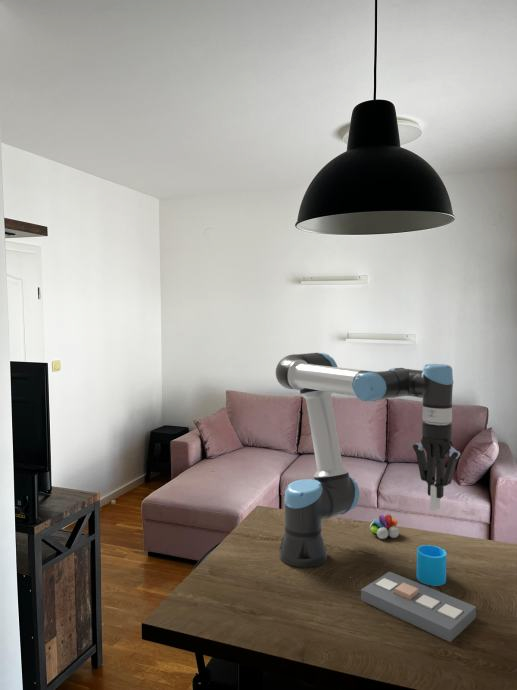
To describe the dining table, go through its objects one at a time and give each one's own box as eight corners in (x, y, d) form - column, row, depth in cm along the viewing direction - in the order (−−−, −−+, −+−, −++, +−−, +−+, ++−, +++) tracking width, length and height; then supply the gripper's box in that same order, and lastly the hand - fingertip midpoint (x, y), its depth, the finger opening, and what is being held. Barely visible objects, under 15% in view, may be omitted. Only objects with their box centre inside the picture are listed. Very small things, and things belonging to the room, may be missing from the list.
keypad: (360, 600, 140) (361, 589, 140) (389, 581, 150) (389, 571, 150) (450, 642, 122) (450, 630, 122) (475, 618, 132) (476, 606, 132)
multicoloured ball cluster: (402, 539, 178) (403, 518, 178) (376, 541, 176) (376, 520, 176) (391, 529, 187) (392, 509, 186) (366, 531, 185) (366, 511, 184)
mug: (447, 587, 147) (448, 559, 146) (417, 583, 149) (417, 556, 148) (443, 567, 158) (444, 541, 158) (415, 564, 160) (415, 538, 160)
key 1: (375, 594, 142) (375, 583, 142) (384, 588, 146) (384, 578, 145) (389, 600, 139) (389, 589, 139) (398, 594, 142) (398, 583, 142)
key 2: (394, 599, 138) (394, 588, 138) (403, 593, 141) (403, 582, 141) (409, 606, 135) (409, 594, 135) (418, 599, 138) (418, 588, 138)
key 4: (437, 622, 130) (437, 610, 129) (445, 615, 133) (445, 603, 132) (454, 629, 126) (454, 618, 126) (462, 622, 129) (462, 610, 129)
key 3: (415, 612, 134) (415, 601, 134) (423, 605, 137) (423, 594, 137) (431, 619, 131) (431, 608, 131) (439, 612, 134) (439, 601, 134)
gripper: (407, 420, 141) (406, 505, 143) (454, 428, 132) (451, 519, 133) (421, 416, 147) (420, 498, 148) (467, 423, 137) (464, 511, 139)
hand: (435, 508), depth 141 cm, fingers closed
